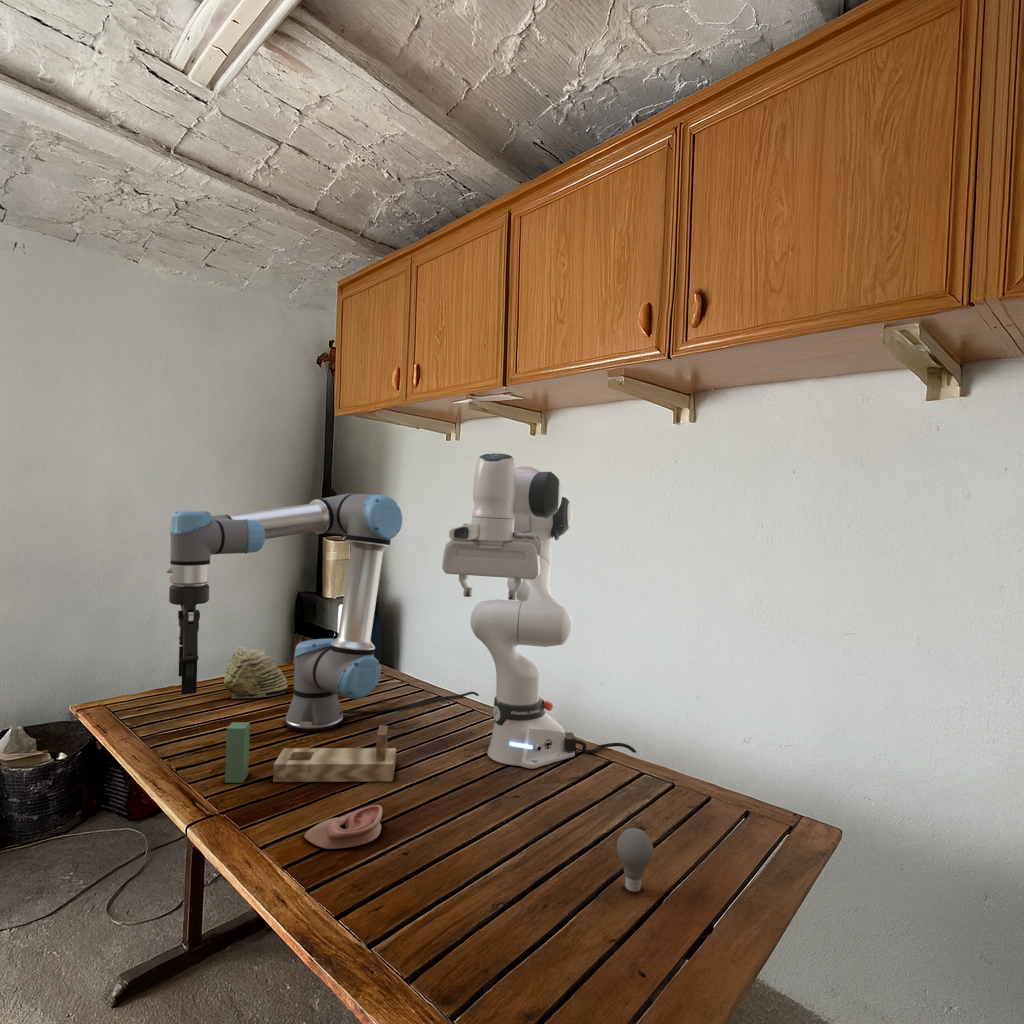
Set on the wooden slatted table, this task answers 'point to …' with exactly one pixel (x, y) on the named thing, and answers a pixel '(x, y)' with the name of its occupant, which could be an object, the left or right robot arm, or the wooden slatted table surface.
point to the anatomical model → (347, 829)
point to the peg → (237, 752)
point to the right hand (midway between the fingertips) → (489, 598)
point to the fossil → (253, 675)
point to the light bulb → (634, 856)
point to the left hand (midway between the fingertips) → (187, 684)
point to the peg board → (337, 763)
